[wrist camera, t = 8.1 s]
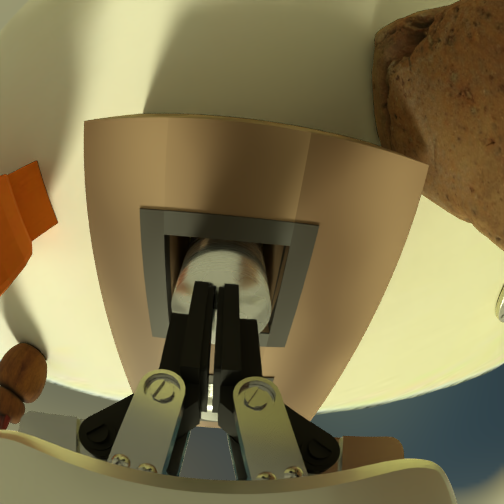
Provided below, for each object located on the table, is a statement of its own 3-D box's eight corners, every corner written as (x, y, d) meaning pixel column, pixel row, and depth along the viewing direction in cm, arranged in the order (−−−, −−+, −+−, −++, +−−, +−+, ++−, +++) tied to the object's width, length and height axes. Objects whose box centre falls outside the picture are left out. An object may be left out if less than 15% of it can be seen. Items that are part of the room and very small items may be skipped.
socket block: (364, 141, 15) (430, 165, 9) (295, 368, 26) (305, 428, 20) (142, 113, 14) (83, 121, 8) (157, 359, 25) (143, 419, 18)
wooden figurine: (41, 341, 24) (-5, 439, 11) (59, 370, 27) (25, 461, 14) (9, 332, 24) (-36, 416, 10) (27, 361, 26) (-8, 440, 13)
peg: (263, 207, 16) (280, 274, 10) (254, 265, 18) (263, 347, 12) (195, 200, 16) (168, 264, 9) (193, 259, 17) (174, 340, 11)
